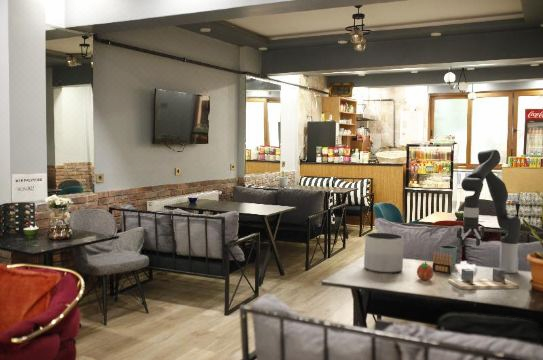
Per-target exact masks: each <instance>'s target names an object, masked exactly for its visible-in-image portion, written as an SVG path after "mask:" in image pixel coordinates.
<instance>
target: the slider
mask: <svg viewBox="0 0 543 360" xmlns="http://www.w3.org/2000/svg"><path fill="white" fill-rule="evenodd" d="M474 273H475V271H474V270H473V269H470V268H461V273H460V274H461V276H460V279H461V280H463V281H465V282H470V283H473V279H474Z"/></svg>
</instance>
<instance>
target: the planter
mask: <svg viewBox="0 0 543 360" xmlns="http://www.w3.org/2000/svg"><path fill="white" fill-rule="evenodd" d="M364 238H365V239H364V240H365V241H364V255H363V256H364V260H363V267H364V268H365V269H366V270H367V271H369V272H373V273H377V274H378V273H379V274H397V273H399V272H401V271H402V270H403V266H404V265H403V263H404V262H403V261H404V236H402V235H401V234H398V233H397V234H396V233H390V232H369V233H366V234H365V236H364Z"/></svg>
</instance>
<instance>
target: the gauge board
mask: <svg viewBox="0 0 543 360" xmlns="http://www.w3.org/2000/svg"><path fill="white" fill-rule="evenodd" d="M447 283H450V285H453V286H455V287H456V288H458V289H460V290H487V289H488V290H490V289H491V290H493V289H494V290H495V289H519V288H520V284H517V283H515V282H513V281H510V280H508V279H506V273H505V270H503V269H501V268H499V267H497V268H496V267H494V268H492V277H491V278H473V283H470V282H465V281H463V280H461V278H448V280H447Z"/></svg>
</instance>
